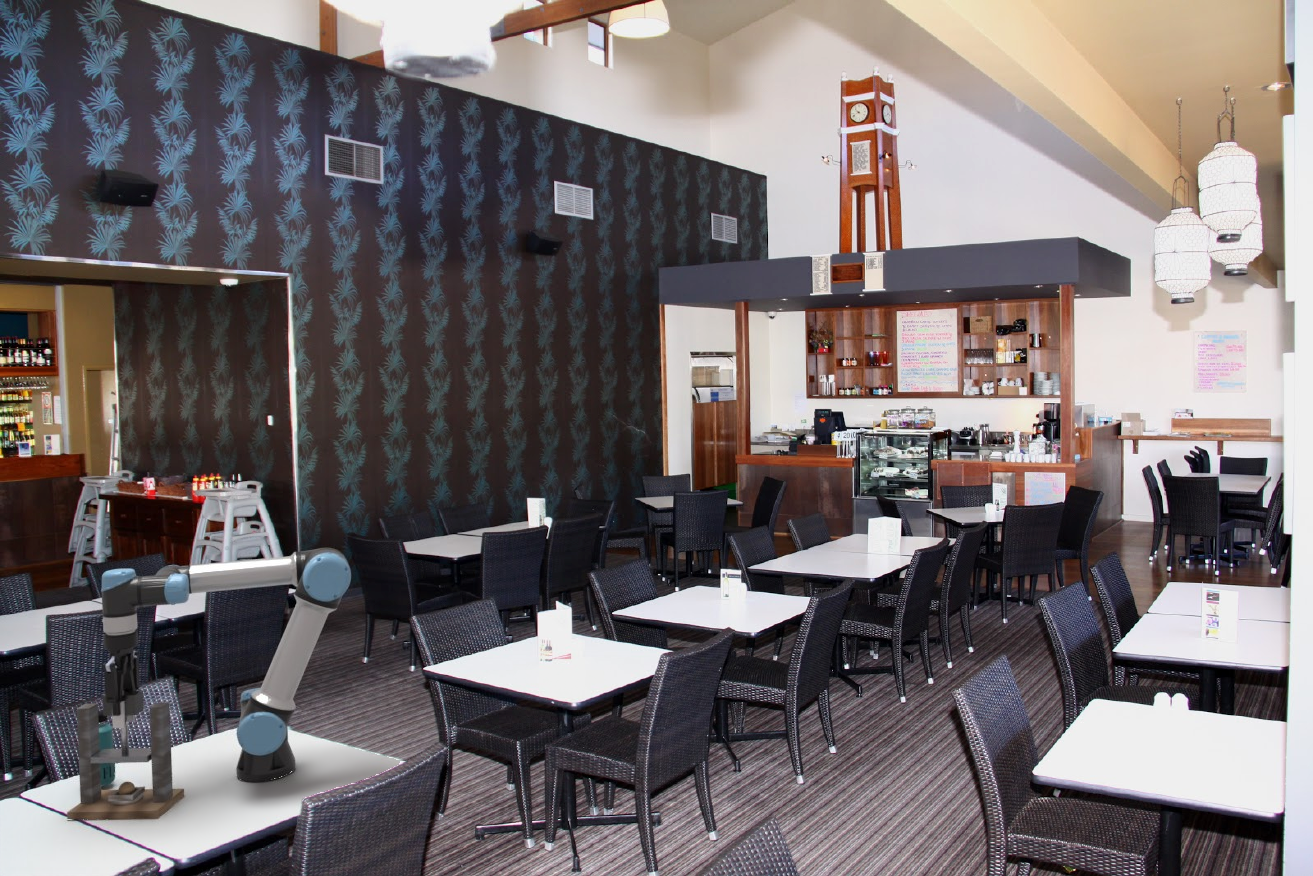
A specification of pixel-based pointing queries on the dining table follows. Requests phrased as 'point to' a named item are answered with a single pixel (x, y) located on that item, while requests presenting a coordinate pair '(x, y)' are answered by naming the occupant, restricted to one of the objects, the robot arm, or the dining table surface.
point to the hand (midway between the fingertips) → (124, 724)
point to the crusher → (124, 733)
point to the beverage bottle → (106, 743)
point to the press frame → (110, 801)
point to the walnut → (126, 788)
